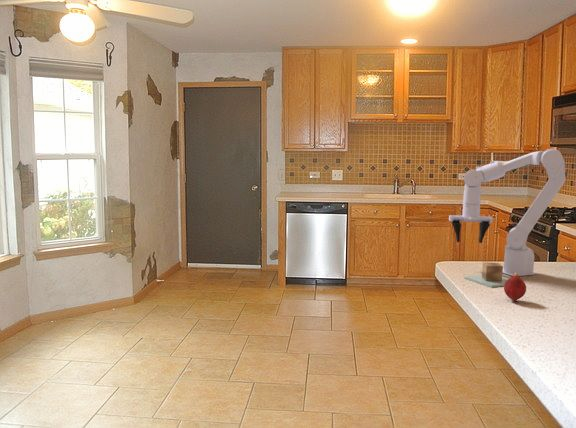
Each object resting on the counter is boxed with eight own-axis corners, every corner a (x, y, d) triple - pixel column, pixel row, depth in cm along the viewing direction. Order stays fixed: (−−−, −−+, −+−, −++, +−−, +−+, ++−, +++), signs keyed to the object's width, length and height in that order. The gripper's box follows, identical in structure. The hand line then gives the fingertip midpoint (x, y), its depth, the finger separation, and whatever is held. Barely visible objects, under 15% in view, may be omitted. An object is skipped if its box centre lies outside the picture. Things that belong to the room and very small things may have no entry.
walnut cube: (485, 280, 172) (486, 265, 171) (481, 277, 177) (482, 262, 176) (501, 281, 171) (502, 266, 171) (497, 277, 176) (498, 262, 176)
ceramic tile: (492, 275, 182) (492, 273, 182) (520, 284, 171) (520, 282, 171) (464, 278, 177) (464, 276, 177) (491, 287, 166) (491, 285, 166)
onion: (527, 304, 149) (529, 276, 148) (505, 303, 150) (507, 275, 149) (522, 298, 155) (524, 271, 154) (501, 297, 156) (503, 270, 155)
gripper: (452, 204, 186) (450, 243, 188) (496, 206, 184) (493, 245, 186) (448, 202, 193) (446, 239, 195) (490, 203, 191) (488, 241, 193)
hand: (469, 242), depth 191 cm, fingers open, 7 cm apart
